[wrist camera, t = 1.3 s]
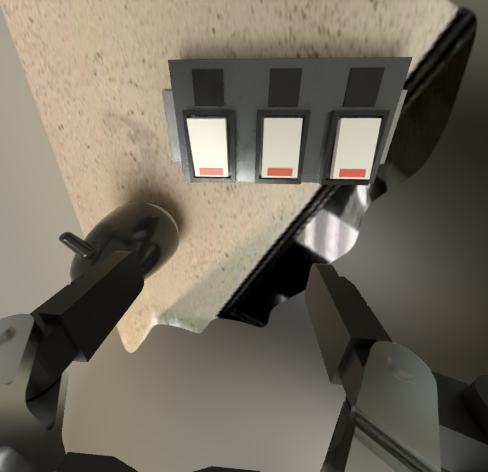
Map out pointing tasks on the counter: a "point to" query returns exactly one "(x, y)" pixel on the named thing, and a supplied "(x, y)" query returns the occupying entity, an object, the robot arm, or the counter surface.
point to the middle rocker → (281, 147)
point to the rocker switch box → (283, 108)
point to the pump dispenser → (127, 238)
